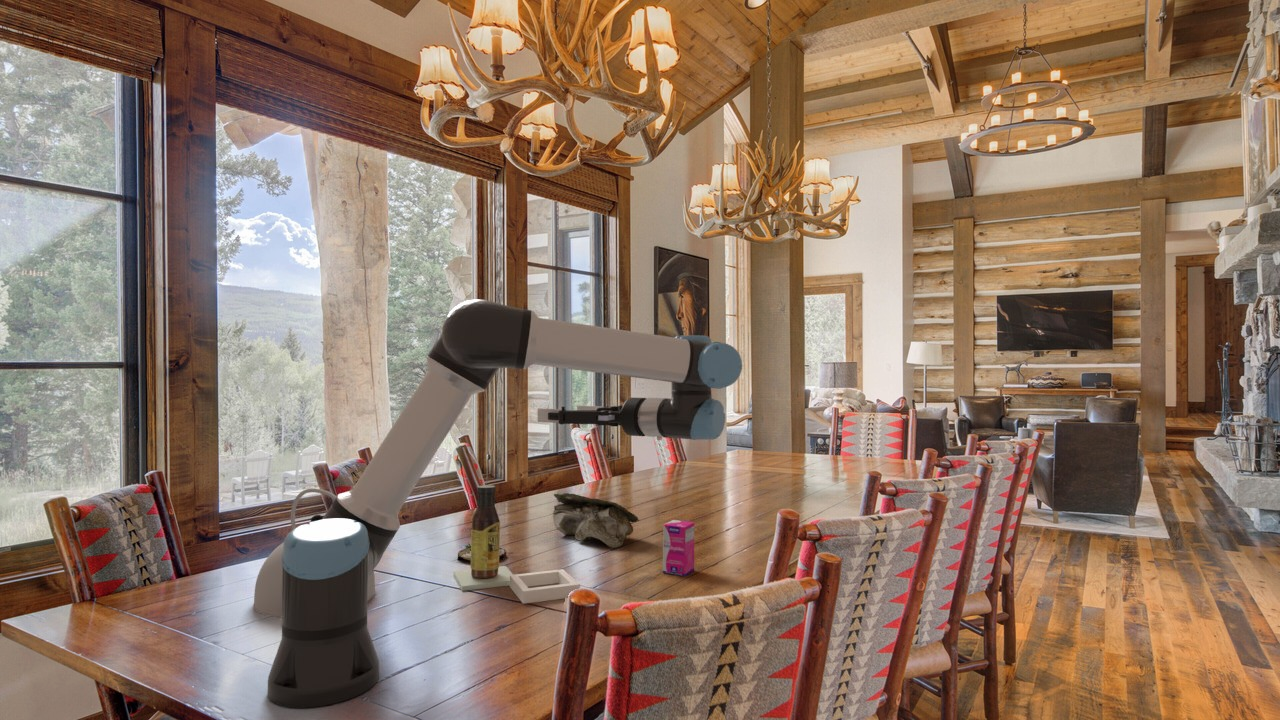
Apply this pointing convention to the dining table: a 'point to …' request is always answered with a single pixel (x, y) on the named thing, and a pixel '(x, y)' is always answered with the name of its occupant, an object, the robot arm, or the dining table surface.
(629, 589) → the dining table surface
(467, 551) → the burger
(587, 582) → the dining table surface
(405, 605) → the dining table surface
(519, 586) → the pocket frame
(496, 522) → the sauce bottle
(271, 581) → the kettle
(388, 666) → the dining table surface
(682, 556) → the supplement box
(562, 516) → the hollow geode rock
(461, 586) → the plate
